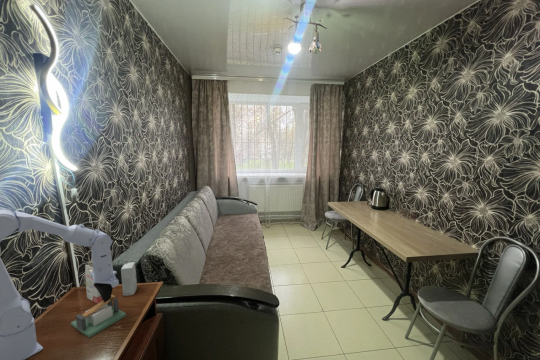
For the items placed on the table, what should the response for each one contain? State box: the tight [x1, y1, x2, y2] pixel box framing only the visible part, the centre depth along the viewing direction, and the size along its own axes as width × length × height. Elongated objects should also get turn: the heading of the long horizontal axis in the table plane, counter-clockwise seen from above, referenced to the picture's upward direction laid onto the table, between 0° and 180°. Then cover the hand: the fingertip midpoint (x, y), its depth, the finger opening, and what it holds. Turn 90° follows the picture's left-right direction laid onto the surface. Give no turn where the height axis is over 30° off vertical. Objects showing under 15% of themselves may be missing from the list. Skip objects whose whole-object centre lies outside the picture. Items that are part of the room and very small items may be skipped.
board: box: [70, 297, 127, 339], centre depth 84 cm, size 12×12×6 cm
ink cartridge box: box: [84, 264, 103, 305], centre depth 97 cm, size 9×5×15 cm, turn 62°
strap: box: [81, 293, 116, 318], centre depth 84 cm, size 10×2×1 cm, turn 152°
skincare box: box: [120, 261, 138, 297], centre depth 102 cm, size 6×4×12 cm
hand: (106, 299), depth 86 cm, fingers closed, pressing on strap
